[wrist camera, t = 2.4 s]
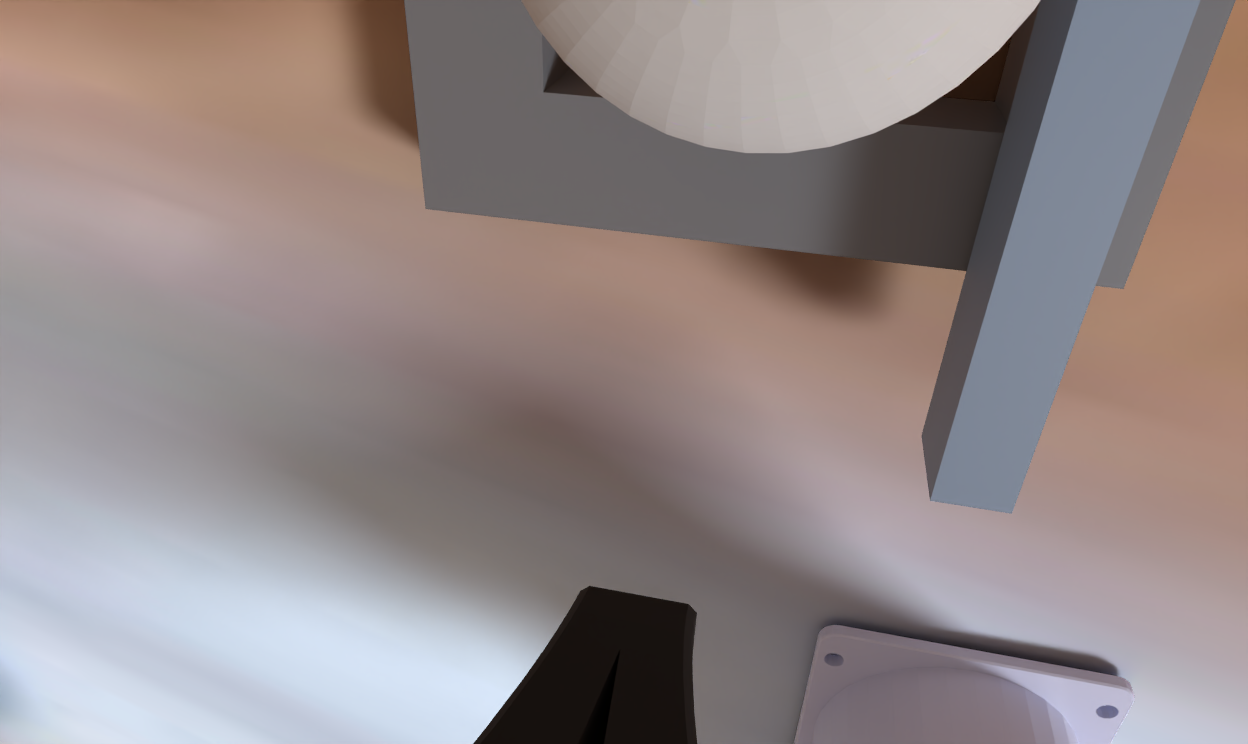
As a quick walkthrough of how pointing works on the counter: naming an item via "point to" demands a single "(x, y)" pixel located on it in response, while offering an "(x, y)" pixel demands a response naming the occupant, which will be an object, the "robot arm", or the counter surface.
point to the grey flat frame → (731, 153)
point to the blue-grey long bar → (1046, 234)
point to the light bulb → (775, 62)
